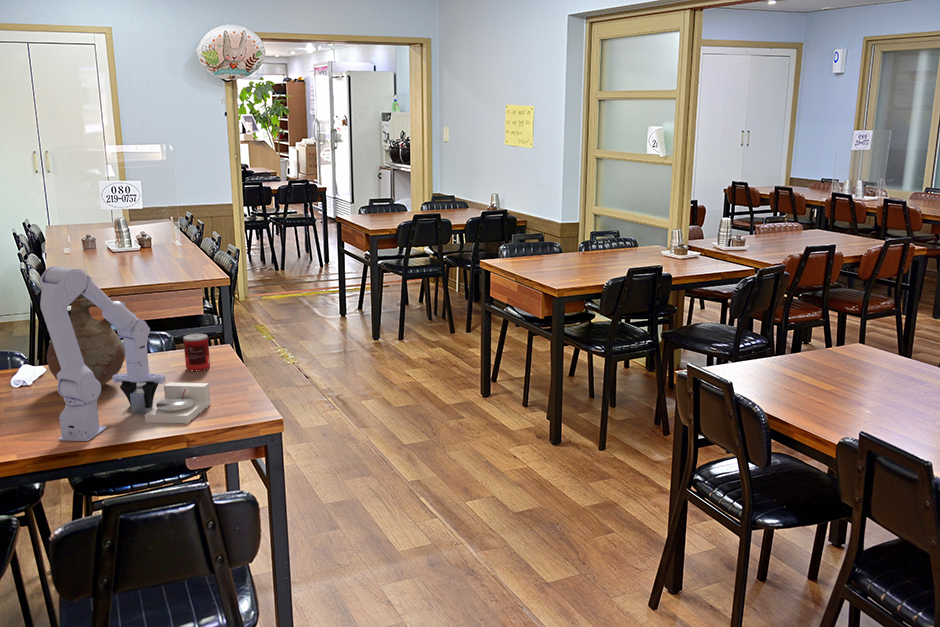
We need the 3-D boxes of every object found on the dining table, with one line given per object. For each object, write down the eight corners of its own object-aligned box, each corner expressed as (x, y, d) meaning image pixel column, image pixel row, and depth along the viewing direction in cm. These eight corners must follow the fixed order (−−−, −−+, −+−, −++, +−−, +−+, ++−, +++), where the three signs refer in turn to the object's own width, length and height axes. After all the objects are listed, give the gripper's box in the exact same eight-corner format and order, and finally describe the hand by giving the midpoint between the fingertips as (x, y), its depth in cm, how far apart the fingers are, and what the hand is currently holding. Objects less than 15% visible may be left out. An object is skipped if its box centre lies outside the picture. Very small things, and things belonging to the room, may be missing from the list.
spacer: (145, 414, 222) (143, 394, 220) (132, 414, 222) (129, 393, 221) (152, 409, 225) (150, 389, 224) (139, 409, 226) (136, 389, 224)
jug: (58, 380, 252) (45, 288, 246) (130, 374, 259) (121, 283, 252) (45, 402, 232) (31, 302, 225) (124, 394, 239) (113, 297, 232)
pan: (185, 411, 215) (185, 409, 215) (149, 410, 216) (149, 408, 216) (200, 399, 224) (200, 397, 224) (166, 398, 225) (166, 396, 225)
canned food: (200, 363, 270) (197, 332, 267) (215, 367, 265) (212, 335, 263) (181, 369, 264) (178, 337, 261) (195, 373, 259) (192, 340, 257)
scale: (188, 423, 214) (186, 400, 213) (145, 422, 215) (143, 399, 214) (210, 404, 229) (208, 383, 228) (170, 403, 230) (168, 382, 229)
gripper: (168, 357, 224) (173, 402, 227) (119, 356, 225) (124, 401, 228) (156, 364, 217) (161, 411, 220) (106, 363, 218) (111, 410, 221)
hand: (141, 406), depth 223 cm, fingers closed on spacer, 4 cm apart
